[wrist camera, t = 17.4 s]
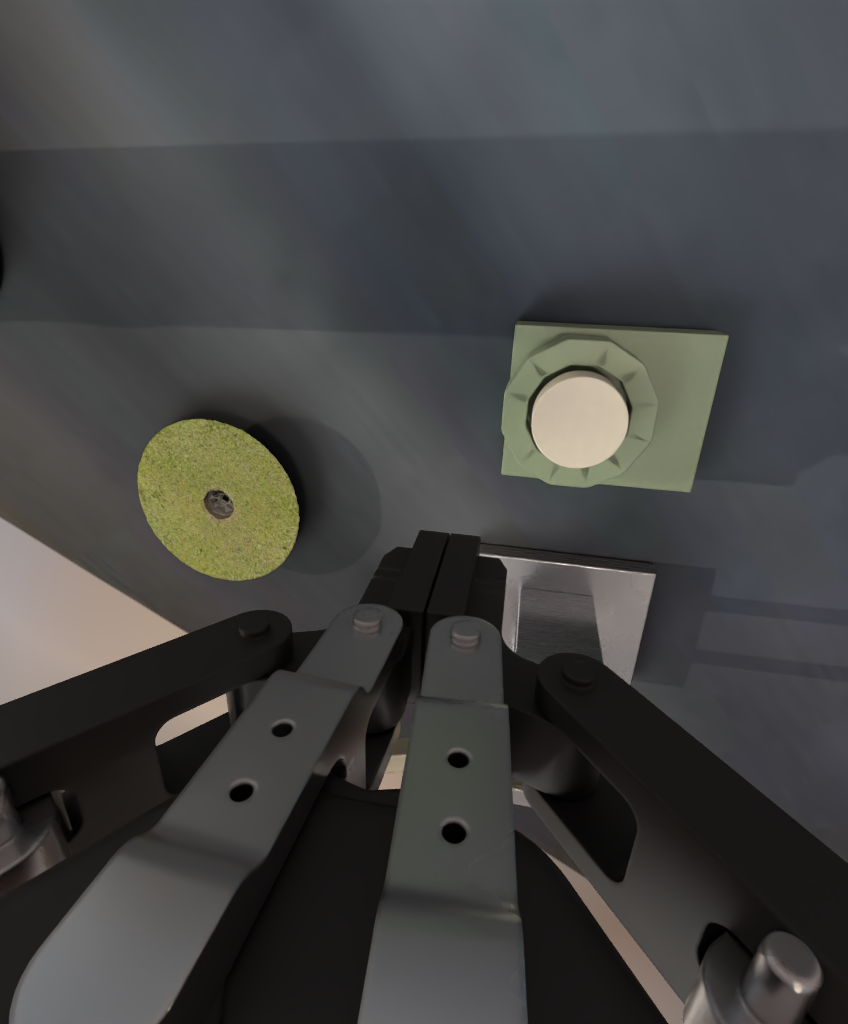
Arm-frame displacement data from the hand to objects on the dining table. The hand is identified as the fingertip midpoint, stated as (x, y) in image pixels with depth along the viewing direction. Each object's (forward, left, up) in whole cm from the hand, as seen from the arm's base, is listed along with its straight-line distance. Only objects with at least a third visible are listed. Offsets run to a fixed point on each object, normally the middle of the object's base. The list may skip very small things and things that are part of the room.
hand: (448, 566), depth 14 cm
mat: (-18, -8, -20) cm, 28 cm away
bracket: (+4, -14, -20) cm, 24 cm away
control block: (+5, 0, -20) cm, 20 cm away
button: (+4, 0, -16) cm, 17 cm away
